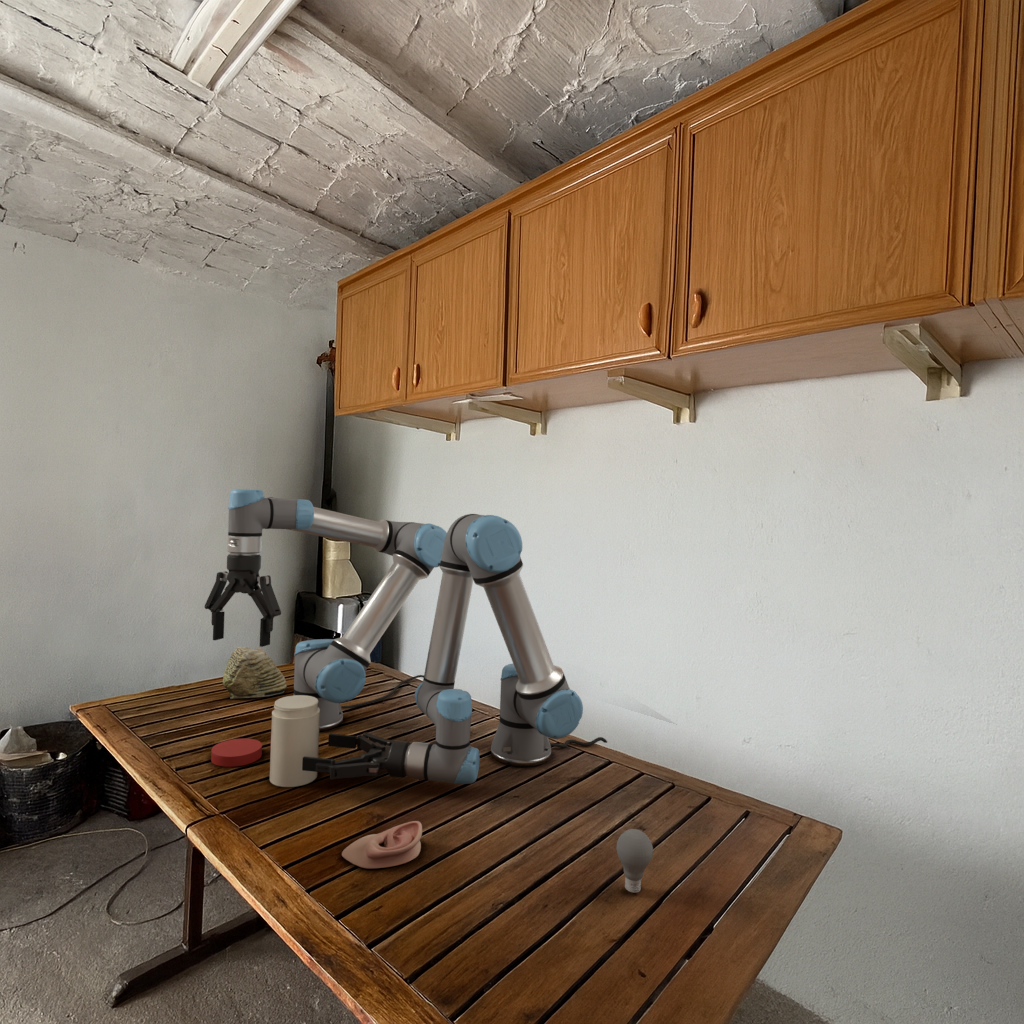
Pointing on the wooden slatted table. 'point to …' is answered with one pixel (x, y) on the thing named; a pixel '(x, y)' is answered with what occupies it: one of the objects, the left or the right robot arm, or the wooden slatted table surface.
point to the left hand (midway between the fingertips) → (241, 642)
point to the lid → (236, 752)
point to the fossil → (252, 674)
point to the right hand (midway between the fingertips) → (316, 751)
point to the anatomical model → (386, 847)
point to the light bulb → (634, 857)
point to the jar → (293, 739)
